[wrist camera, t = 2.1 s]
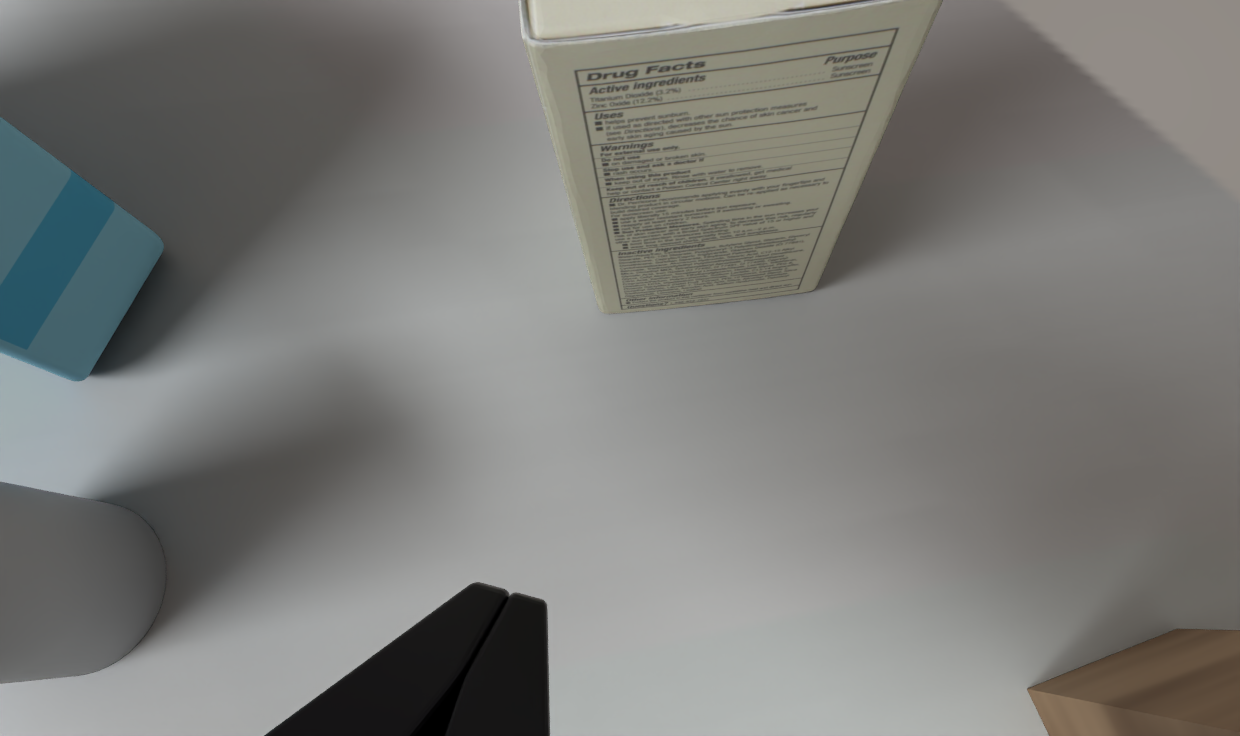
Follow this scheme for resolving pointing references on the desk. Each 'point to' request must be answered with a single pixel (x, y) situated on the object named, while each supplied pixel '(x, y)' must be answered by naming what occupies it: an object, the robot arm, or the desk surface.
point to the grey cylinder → (72, 583)
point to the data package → (63, 261)
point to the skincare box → (716, 134)
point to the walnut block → (1150, 689)
